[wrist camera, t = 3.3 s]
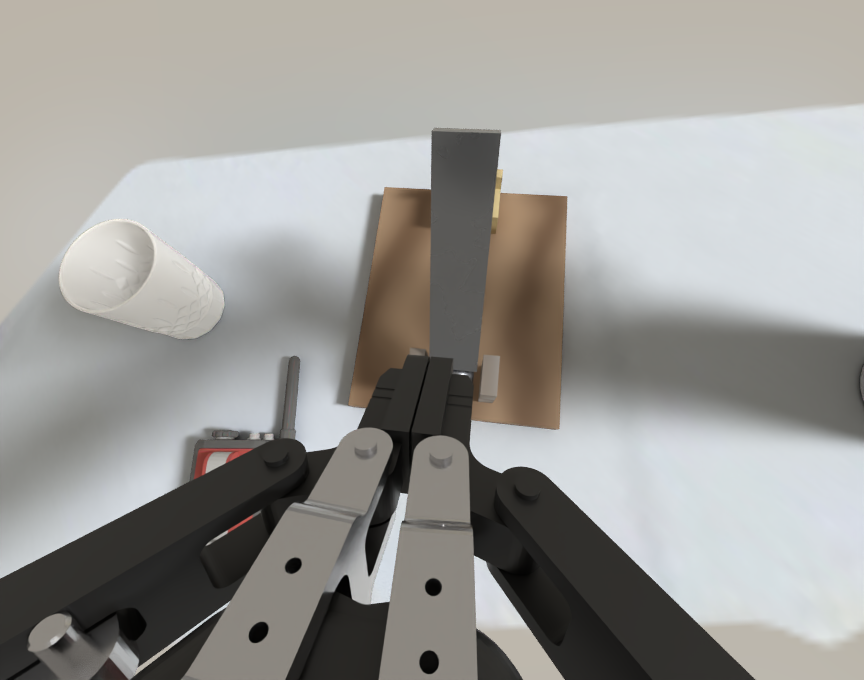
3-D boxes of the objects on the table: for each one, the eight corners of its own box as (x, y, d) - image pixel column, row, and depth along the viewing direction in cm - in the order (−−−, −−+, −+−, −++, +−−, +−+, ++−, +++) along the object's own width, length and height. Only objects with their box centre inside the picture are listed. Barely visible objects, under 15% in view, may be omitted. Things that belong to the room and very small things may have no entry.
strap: (501, 129, 21) (500, 134, 20) (475, 378, 32) (474, 393, 30) (435, 127, 22) (431, 131, 20) (431, 373, 32) (428, 388, 31)
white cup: (172, 267, 41) (82, 212, 32) (241, 277, 40) (170, 224, 31) (145, 338, 39) (41, 304, 30) (216, 351, 38) (133, 320, 29)
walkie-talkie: (291, 595, 33) (311, 359, 38) (266, 617, 28) (292, 348, 34) (190, 592, 33) (224, 360, 38) (150, 613, 29) (194, 349, 34)
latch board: (563, 205, 39) (582, 160, 33) (555, 429, 34) (575, 426, 28) (387, 196, 41) (373, 151, 35) (352, 406, 36) (329, 398, 30)
